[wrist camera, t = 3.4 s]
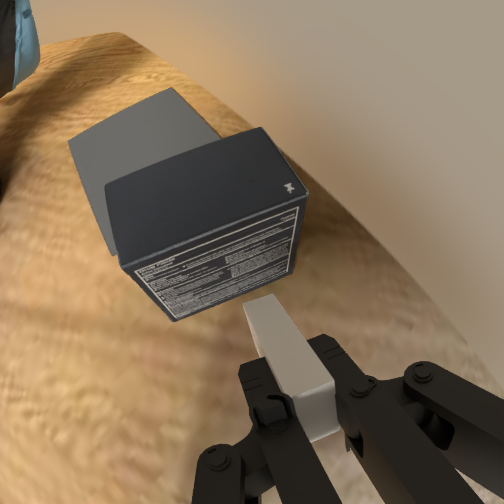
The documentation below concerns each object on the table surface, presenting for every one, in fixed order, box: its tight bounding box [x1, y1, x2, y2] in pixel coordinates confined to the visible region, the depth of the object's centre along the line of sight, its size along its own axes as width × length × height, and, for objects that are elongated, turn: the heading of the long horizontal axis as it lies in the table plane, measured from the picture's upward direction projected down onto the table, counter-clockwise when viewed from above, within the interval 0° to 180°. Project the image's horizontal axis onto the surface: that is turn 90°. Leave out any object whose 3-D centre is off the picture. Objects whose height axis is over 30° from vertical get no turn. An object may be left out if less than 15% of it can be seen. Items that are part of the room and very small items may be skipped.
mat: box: [68, 88, 221, 256], centre depth 32 cm, size 19×15×1 cm
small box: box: [104, 127, 309, 322], centre depth 21 cm, size 11×6×10 cm, turn 114°
